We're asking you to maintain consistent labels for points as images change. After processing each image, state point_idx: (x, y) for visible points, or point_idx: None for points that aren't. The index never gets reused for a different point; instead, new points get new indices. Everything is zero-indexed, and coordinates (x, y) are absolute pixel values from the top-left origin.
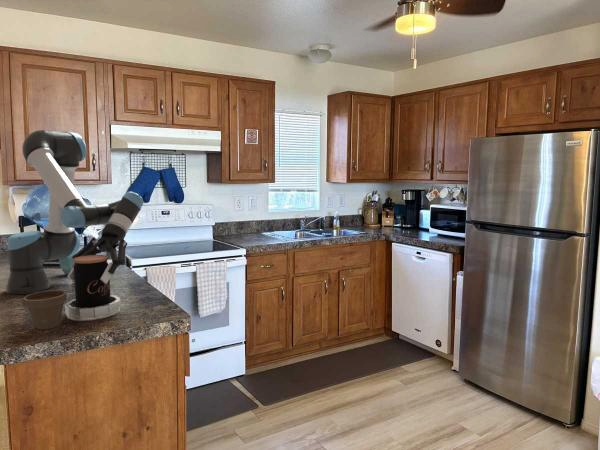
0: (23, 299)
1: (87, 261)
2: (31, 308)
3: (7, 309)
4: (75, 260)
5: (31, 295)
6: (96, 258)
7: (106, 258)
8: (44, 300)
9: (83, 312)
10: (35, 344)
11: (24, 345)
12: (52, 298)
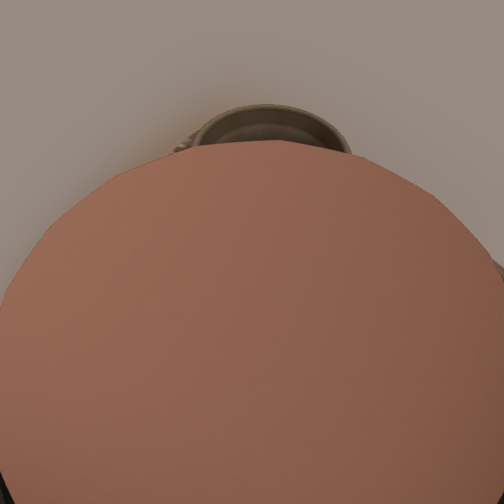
0: (295, 108)
1: (86, 207)
2: (261, 133)
3: (498, 267)
4: (295, 144)
5: (337, 142)
6: (54, 406)
7: (14, 488)
8: (210, 121)
9: None
10: (173, 151)
11: (190, 141)
12: (196, 134)
